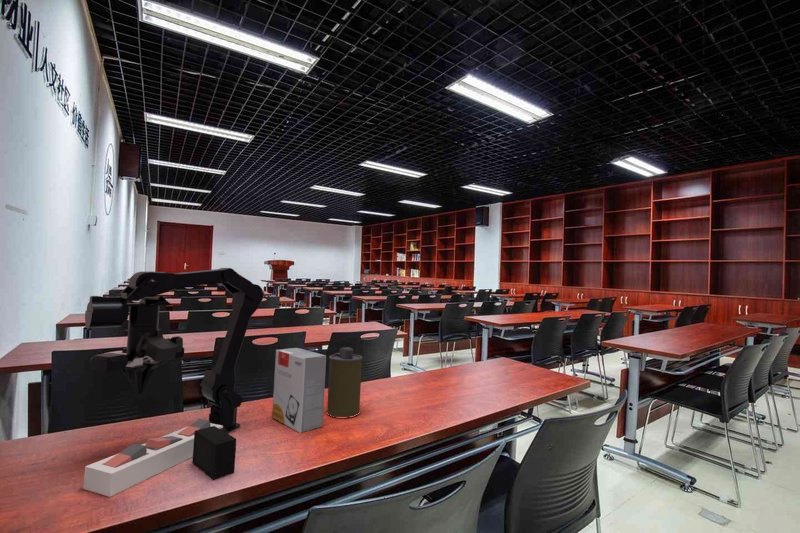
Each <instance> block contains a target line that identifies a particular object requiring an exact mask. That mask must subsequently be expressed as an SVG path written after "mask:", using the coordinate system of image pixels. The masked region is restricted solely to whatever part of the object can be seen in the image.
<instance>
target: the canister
mask: <svg viewBox="0 0 800 533" xmlns="http://www.w3.org/2000/svg"><path fill="white" fill-rule="evenodd" d="M328 358H329V365H328V368H329V369H328V385H327V386H328V387H327V404H326V405H327V406H326V407H327V408H326V412H328V414H329V415H331V416H334V417H350V416H354V415H356V414H358V413H359V410H360V409H361V408H360V406H361V387H362V385H361V384H362V383H361V382H362V366H363V365H362V363H363V361H362V360H363V358H364V357H363V356H362V355H360V354H355V353H354V349H353V348H352V347H349V346H348V347H346V346H345V347H339V351H338V352H334V353H333V354H331V355H329V356H328Z"/></svg>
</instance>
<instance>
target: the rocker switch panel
mask: <svg viewBox="0 0 800 533" xmlns="http://www.w3.org/2000/svg"><path fill="white" fill-rule="evenodd" d="M212 426H215V427H217V428H219V429H220V428H223V426H222V425H217V424H212V423H210V427H212ZM187 427H188V426H185V427H183V428H181V429H178V430H175V431H173V432H170V433H167V434H165V435H162V436H161V437H167V436H174V437H178V438H182V440H180V441H178V442H176V443H173V444H171V445H168V446H166V447H164V448H158V449H155V448H151V447H147V446H146V450H147V452H146V453H145V454H144V455H142V456H141V457H139V458H138V459H135V460H133V461H131V462H128V463H126V464H123V465H121V466H119V467H116V468H114V467H110V466H106V465H103V464H104V463H105V462H107V461H108V460H110V459H111V458H113V457H114V456H116V455H117V454H119V453H120V452H119V453H118V452H117V453H116V454H114V455H111V456H109V457H106V458H104V459H101V460H98V461H96V462H93V463H90V464H87V465H86V466H84V477H83V478H84V479H83V485H82V486H83V488H82V489H83V490H87V491H89V492H93V493H95V494H98V495H103V496H105V497H108V498H111V497H112V496H115V495H117V494H118V493H121V492H123V491H125V490H127V489H129V488H131V487H133V486H136V485H137V484H140V483H142V482H143V481H145V480H148V479H149V478H150V479H151V477H154V476H155V475H158V474H160V473H162V472H164V471H167V470H168V469H170V468H172V467H174V466H176V465H178V464H181V463H183V462H185V461H186V460H189V459H191V458H193V446H194V435H192V436H190V437H188V436H183V435H178V433H179V432H181V431H182V430H184V429H185V428H187ZM141 445H143V446H145V445H146V442H145V443H142V444H141Z"/></svg>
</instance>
